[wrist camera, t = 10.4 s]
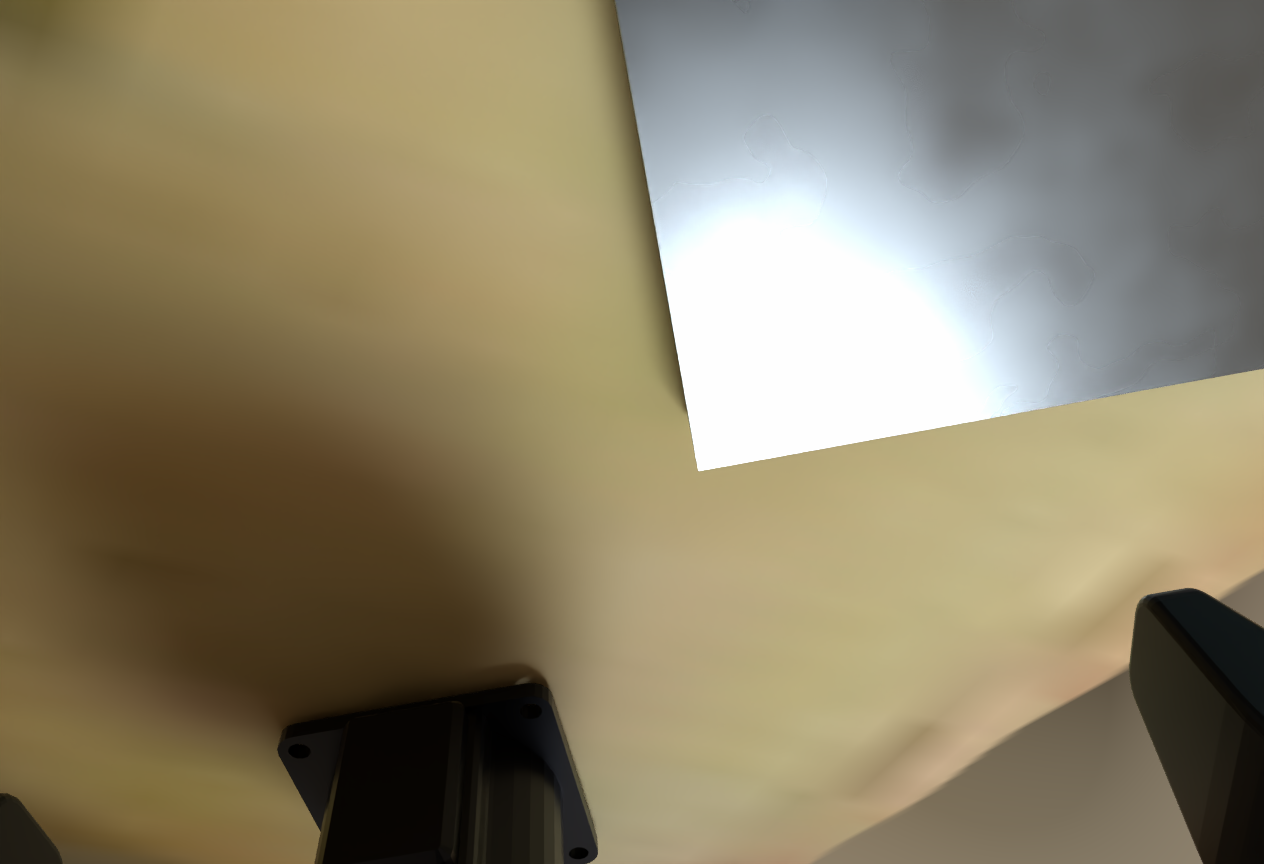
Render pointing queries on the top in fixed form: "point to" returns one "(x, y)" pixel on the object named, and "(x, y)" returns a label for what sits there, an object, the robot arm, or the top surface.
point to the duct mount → (946, 206)
